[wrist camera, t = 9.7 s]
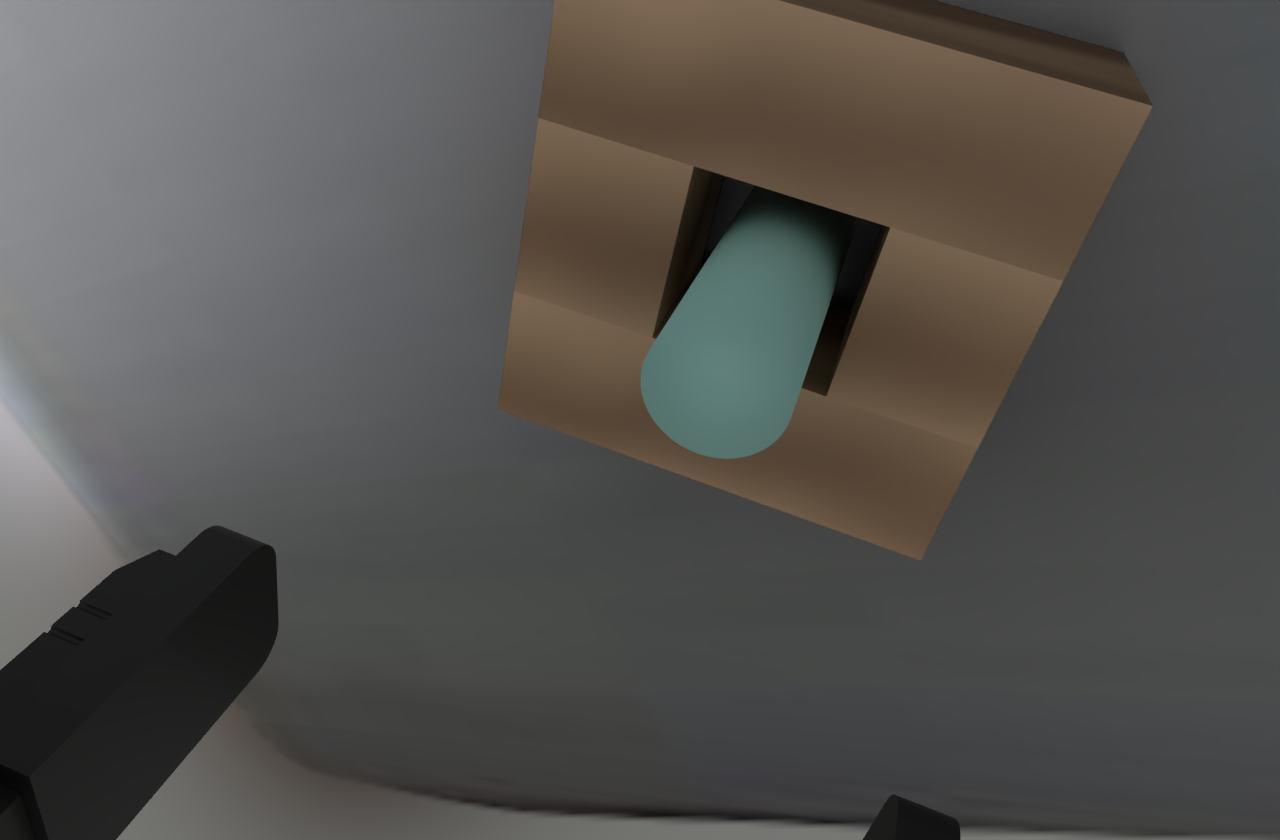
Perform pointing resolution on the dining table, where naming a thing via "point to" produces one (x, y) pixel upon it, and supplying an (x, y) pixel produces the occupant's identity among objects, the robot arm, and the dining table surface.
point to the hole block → (830, 177)
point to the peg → (747, 328)
